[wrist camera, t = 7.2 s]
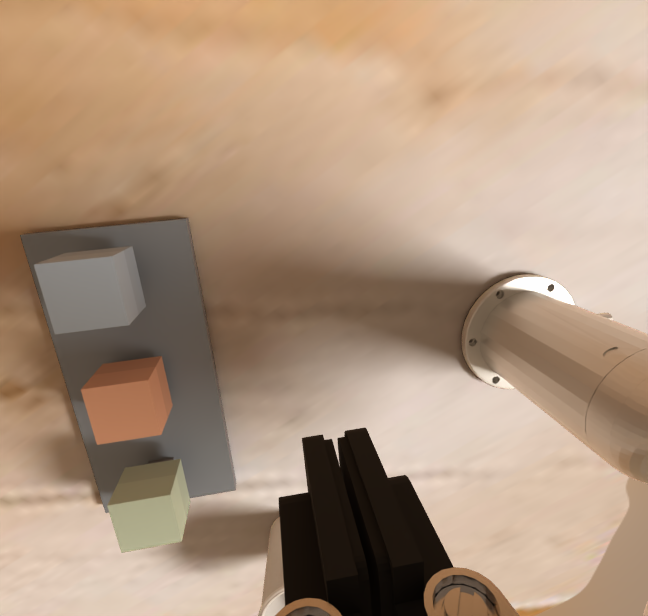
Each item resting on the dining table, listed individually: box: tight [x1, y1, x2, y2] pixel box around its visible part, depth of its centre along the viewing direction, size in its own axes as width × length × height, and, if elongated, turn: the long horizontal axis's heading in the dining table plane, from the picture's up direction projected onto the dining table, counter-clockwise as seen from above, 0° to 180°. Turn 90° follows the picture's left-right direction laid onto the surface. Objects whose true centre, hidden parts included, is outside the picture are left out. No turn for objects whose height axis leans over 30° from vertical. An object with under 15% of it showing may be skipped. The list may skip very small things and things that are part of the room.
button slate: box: [34, 246, 146, 334], centre depth 31 cm, size 5×5×5 cm
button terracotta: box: [81, 356, 173, 445], centre depth 35 cm, size 5×5×5 cm
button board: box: [20, 218, 236, 513], centre depth 38 cm, size 13×28×3 cm, turn 5°
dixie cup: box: [258, 516, 285, 616], centre depth 43 cm, size 8×8×10 cm
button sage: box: [107, 459, 190, 553], centre depth 37 cm, size 5×5×5 cm
